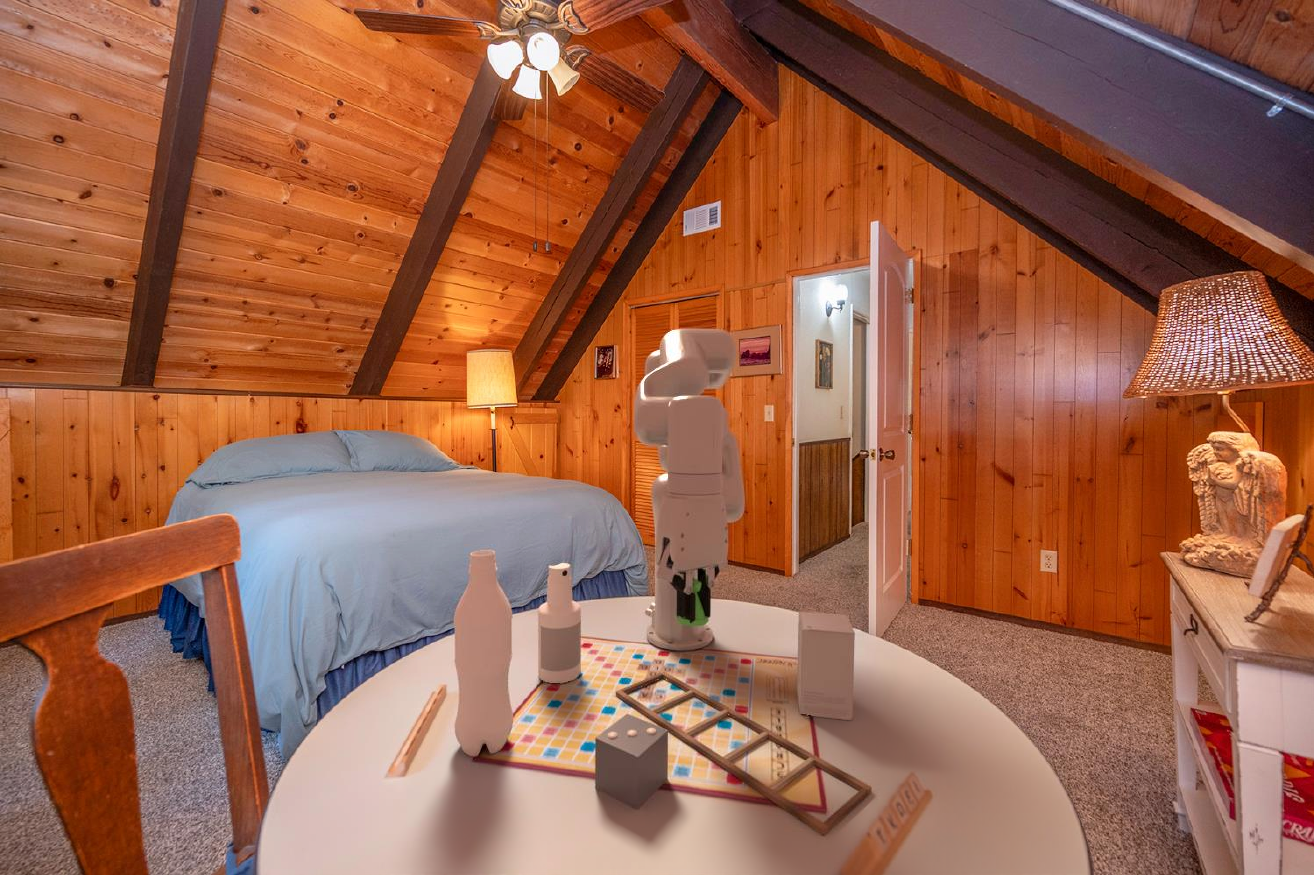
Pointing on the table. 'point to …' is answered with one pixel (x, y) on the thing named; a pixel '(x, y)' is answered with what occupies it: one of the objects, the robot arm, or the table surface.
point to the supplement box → (825, 665)
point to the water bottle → (483, 659)
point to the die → (631, 760)
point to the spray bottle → (559, 629)
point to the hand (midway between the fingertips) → (693, 616)
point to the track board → (764, 734)
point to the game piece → (699, 612)
